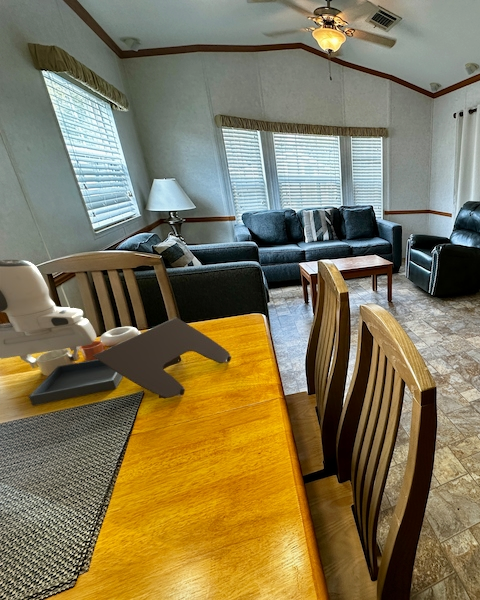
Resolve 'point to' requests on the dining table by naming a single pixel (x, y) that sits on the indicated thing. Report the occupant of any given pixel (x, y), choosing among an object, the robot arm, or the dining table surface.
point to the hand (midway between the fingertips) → (57, 363)
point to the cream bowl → (53, 360)
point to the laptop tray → (160, 356)
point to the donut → (118, 335)
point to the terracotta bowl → (92, 350)
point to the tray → (76, 381)
